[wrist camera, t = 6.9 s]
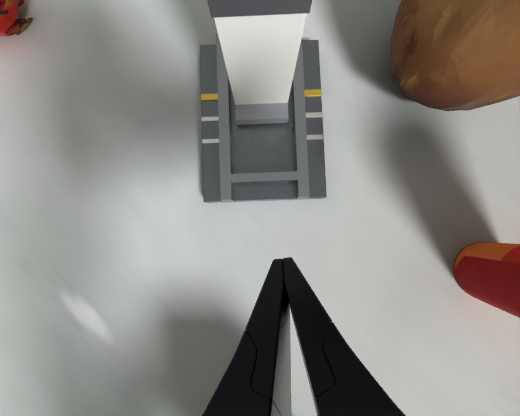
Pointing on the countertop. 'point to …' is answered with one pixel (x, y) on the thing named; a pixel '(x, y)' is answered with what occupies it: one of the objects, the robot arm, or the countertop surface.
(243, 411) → the robot arm
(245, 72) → the plate
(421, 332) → the countertop surface
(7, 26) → the dragon fruit
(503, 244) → the paper cup
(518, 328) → the countertop surface
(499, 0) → the butternut squash
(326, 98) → the countertop surface
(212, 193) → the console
